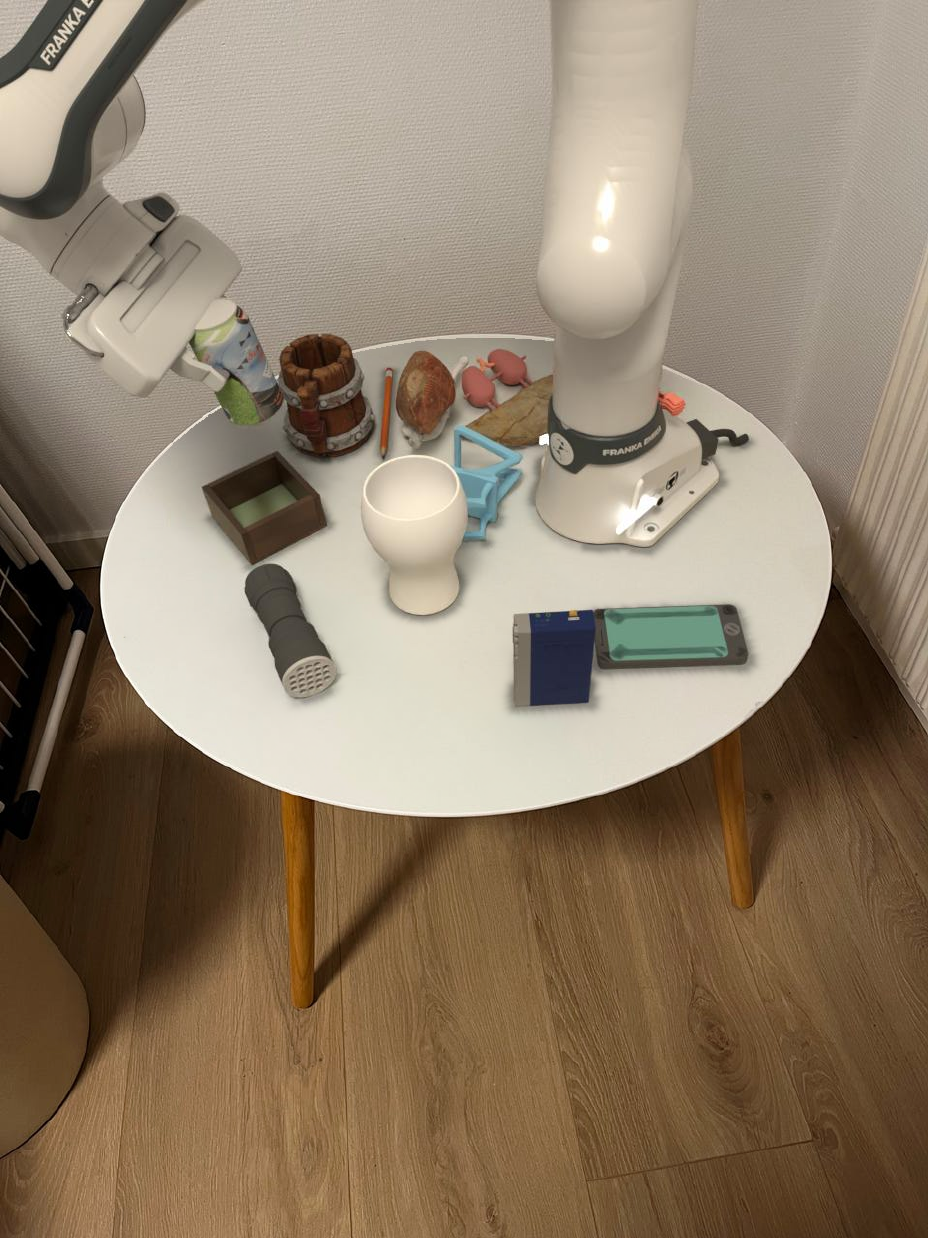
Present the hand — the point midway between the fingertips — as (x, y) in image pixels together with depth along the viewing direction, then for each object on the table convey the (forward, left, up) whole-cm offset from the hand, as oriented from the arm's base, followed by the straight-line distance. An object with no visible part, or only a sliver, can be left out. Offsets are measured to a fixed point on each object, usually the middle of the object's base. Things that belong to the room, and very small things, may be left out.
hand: (238, 363), depth 86 cm
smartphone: (-24, +38, -25) cm, 51 cm away
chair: (-25, +6, -21) cm, 33 cm away
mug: (-13, -13, -24) cm, 30 cm away
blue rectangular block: (-10, +36, -25) cm, 44 cm away
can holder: (0, -4, -24) cm, 25 cm away
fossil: (-38, +6, -19) cm, 43 cm away
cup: (-8, +16, -24) cm, 30 cm away
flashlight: (+7, +14, -25) cm, 29 cm away
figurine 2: (-36, -4, -24) cm, 44 cm away
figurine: (-26, -8, -24) cm, 36 cm away
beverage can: (0, -1, -7) cm, 7 cm away
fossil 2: (-23, -10, -15) cm, 29 cm away
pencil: (-21, -13, -24) cm, 34 cm away
